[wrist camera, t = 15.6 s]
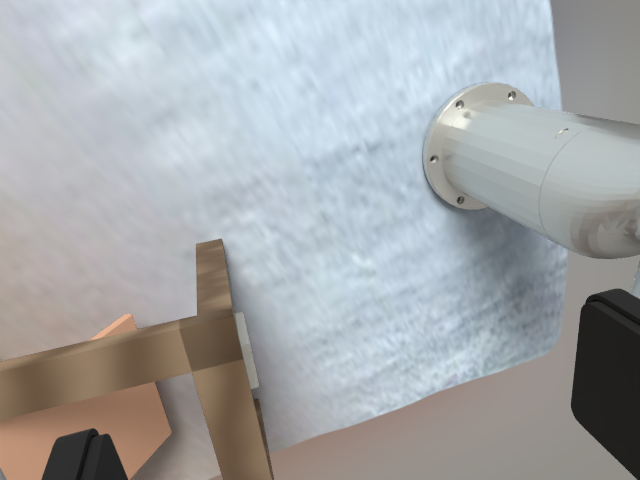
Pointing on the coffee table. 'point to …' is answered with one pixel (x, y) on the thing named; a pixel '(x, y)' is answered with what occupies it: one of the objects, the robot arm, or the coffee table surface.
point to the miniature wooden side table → (160, 370)
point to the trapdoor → (87, 425)
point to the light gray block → (246, 350)
